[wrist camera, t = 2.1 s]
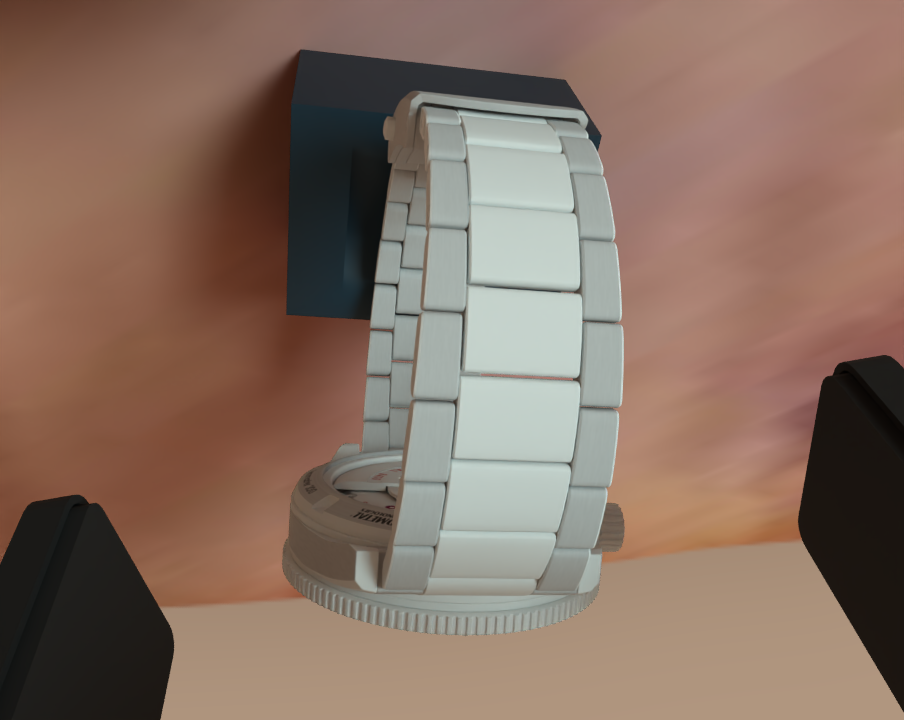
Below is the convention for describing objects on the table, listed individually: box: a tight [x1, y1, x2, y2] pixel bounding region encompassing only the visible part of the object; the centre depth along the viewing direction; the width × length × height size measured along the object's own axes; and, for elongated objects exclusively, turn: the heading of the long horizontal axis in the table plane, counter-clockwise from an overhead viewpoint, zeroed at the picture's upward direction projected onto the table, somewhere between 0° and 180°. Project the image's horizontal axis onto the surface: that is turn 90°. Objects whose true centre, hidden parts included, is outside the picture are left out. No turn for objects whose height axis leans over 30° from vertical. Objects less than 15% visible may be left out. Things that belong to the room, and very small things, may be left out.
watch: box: [282, 50, 625, 636], centre depth 14 cm, size 6×8×11 cm
